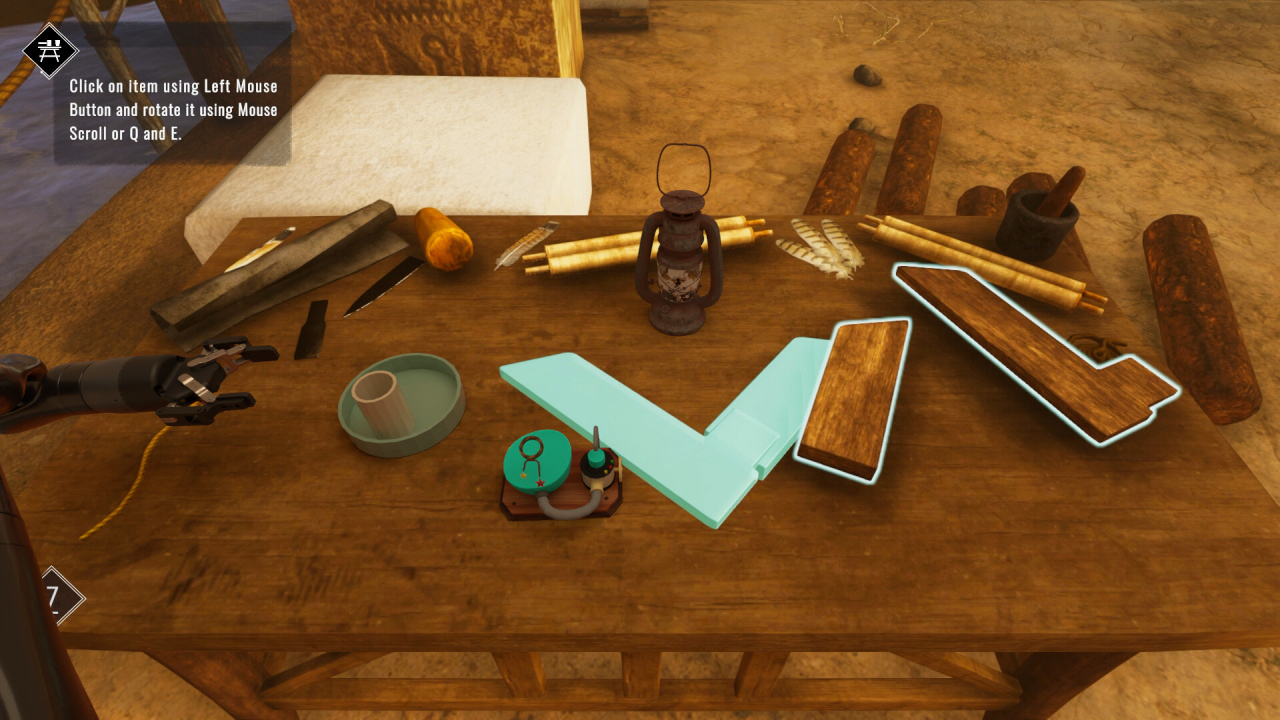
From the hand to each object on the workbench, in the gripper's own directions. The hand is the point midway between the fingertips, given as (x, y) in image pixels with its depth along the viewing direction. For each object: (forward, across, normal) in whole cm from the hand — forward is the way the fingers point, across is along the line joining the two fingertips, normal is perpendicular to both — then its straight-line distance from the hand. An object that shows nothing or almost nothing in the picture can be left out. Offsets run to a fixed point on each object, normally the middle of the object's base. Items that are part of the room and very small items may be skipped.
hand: (265, 375), depth 77 cm
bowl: (+12, +8, +18) cm, 23 cm away
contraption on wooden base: (+38, -10, +19) cm, 43 cm away
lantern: (+60, +27, +18) cm, 68 cm away
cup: (+11, +4, +18) cm, 21 cm away
